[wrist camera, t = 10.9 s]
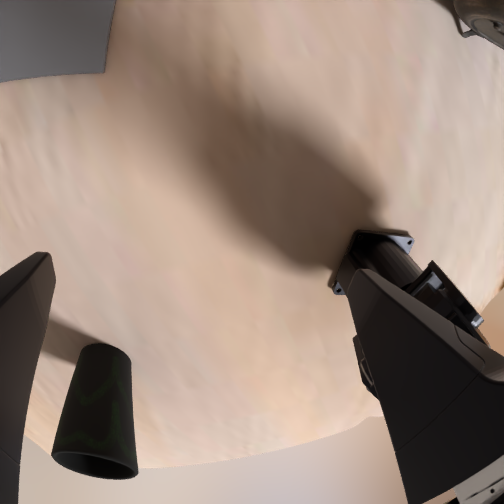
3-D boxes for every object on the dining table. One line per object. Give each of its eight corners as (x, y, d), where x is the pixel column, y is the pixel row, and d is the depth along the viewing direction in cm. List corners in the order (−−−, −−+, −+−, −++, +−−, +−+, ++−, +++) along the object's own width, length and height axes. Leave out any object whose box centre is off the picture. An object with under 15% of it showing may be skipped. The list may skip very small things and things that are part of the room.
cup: (61, 335, 26) (35, 445, 16) (133, 336, 27) (124, 456, 18) (84, 379, 30) (72, 474, 21) (147, 381, 32) (146, 481, 22)
